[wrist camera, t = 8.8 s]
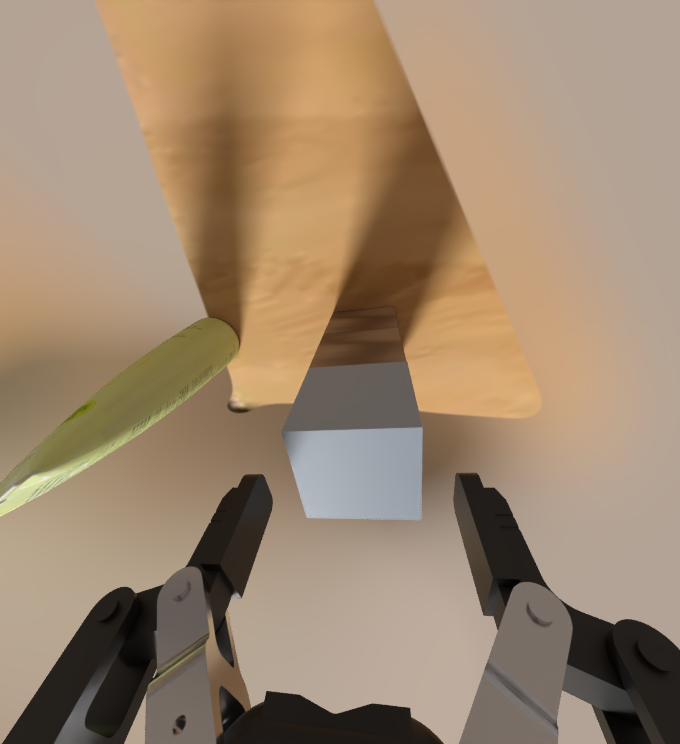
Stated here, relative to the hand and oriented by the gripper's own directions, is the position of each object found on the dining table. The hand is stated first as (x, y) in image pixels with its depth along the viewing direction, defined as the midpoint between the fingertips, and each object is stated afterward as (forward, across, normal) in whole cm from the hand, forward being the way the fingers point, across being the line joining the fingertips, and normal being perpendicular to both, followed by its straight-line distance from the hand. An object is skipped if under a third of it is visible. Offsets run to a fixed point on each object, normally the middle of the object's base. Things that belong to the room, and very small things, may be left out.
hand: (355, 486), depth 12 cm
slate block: (+6, 0, 0) cm, 6 cm away
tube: (+17, +15, -1) cm, 23 cm away
